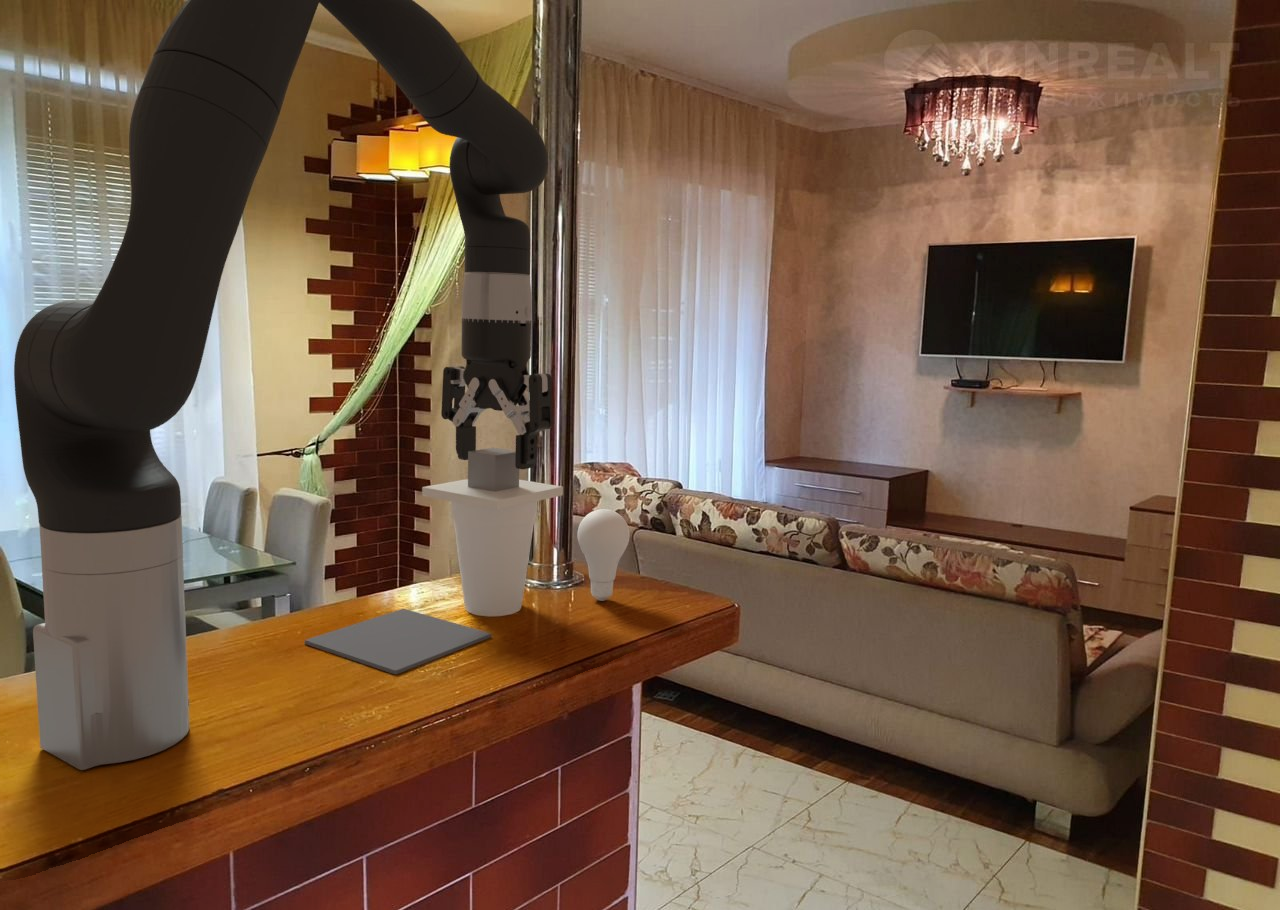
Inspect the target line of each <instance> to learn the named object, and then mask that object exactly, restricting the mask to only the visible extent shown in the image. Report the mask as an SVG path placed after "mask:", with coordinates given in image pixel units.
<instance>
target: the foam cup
mask: <svg viewBox="0 0 1280 910" xmlns="http://www.w3.org/2000/svg"><path fill="white" fill-rule="evenodd" d="M450 502H451V501H450ZM450 507H451V509H450V513H451V514H450V517H451V518H452V519H453V525H454V535H455V541H456V551H457V557H458V558H457V559H458V565H459V572H460V573H459V574H460V580H461V589H462V595H463V597H462V598H463V604H464V610H466V611H467V613H470V614H473V615H475V616H481V617H483V616H484V617H503V616H508V615H513V614H515V613H517V612H519V611H521V609H522V603H523V600H524V599H523V598H524V591H525V587H526V586H525V585H526V579H527V573H528V565H529V559H530V552H531V551H530V550H531V545H532V543H531V542H532V539H533V533H534V525H535V519H537V518H536V517H537V516H538V501H535V502H531V503H526V504H522V505H518V506H513V507H509V508H504V509H500V510H494V509H488V508H483V507H478V506H472V505H467V504H462V503H457V502H451V504H450Z"/></svg>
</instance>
